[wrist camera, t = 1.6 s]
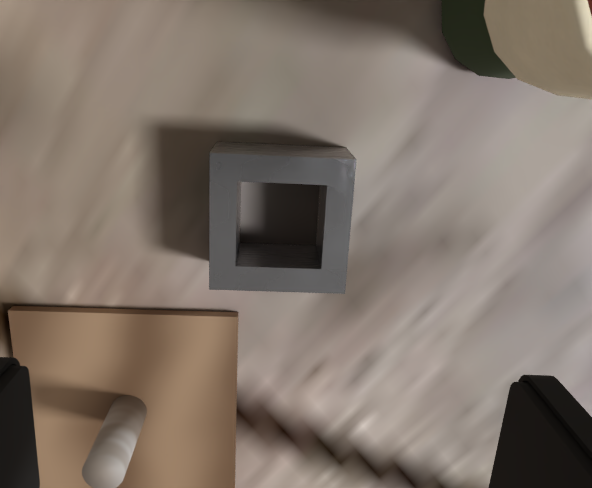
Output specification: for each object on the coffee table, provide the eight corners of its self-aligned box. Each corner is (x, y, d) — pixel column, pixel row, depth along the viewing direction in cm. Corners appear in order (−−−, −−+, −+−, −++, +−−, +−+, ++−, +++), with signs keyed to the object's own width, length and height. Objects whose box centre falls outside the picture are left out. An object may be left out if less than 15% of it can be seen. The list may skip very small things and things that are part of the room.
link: (346, 147, 28) (356, 159, 24) (336, 267, 30) (344, 293, 26) (217, 141, 27) (209, 153, 24) (216, 263, 29) (209, 289, 26)
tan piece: (238, 312, 30) (230, 366, 25) (234, 489, 34) (227, 569, 29) (12, 305, 29) (-45, 359, 24) (34, 487, 33) (-11, 568, 28)
